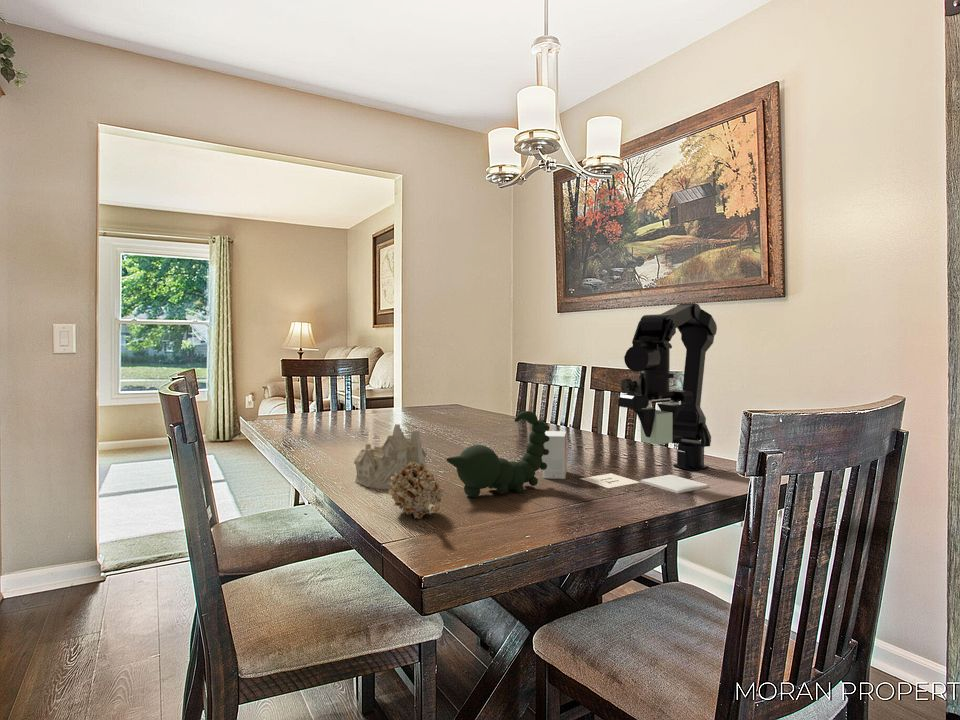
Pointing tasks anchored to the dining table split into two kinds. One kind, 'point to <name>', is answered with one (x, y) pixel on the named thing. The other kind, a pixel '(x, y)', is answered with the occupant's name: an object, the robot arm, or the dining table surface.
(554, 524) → the dining table surface
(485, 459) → the toy figurine
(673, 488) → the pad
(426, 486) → the pine cone
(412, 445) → the ceramic cottage
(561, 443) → the small box
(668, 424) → the sage block
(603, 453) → the dining table surface
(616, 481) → the tile
